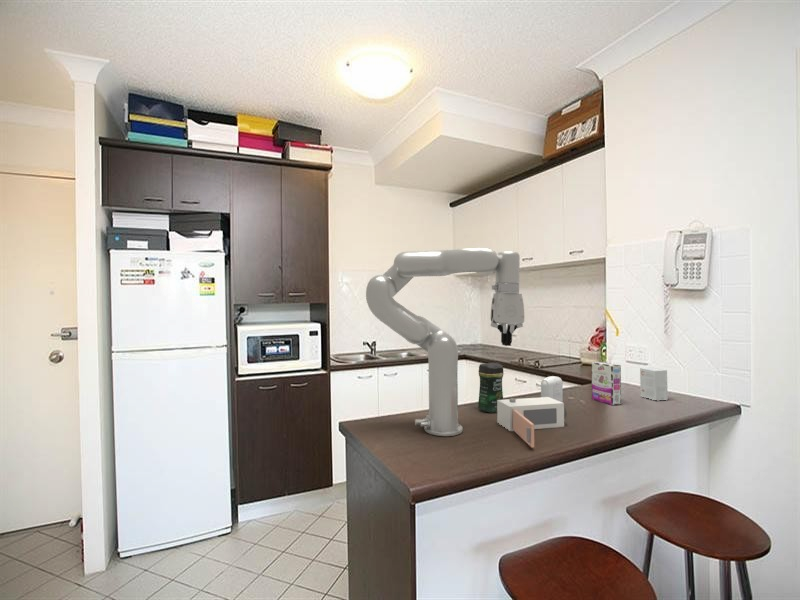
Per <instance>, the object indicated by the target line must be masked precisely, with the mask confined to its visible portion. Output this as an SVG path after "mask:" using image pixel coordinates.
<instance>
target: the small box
mask: <svg viewBox="0 0 800 600" xmlns="http://www.w3.org/2000/svg"><path fill="white" fill-rule="evenodd" d="M639 368H640V369H639V371H640V372H639V376H640V377H639V378H640V379H639V380H640V381H639V383H640V389H639V390H640V397H641V396H642V397H646V398H649V399H648V400H650V399H652V400H651V401H653V400H666V401H668V400H669V399H668V397H669V395H668V370H667V369H666V370H665V369H660V368H656V367H639ZM642 397H641V398H642ZM646 398H645V399H646Z"/></svg>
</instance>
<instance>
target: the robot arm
mask: <svg viewBox="0 0 800 600" xmlns="http://www.w3.org/2000/svg"><path fill="white" fill-rule="evenodd" d="M520 259H521V258H520V254H519V253H518V251H512V250H511V251H510V250H508V251H507V250H504V251H498V253H497V252H496V251H495V250H493V249H491V248H488V247H487V248H485V247H476V248H475V247H474V248H473V247H472V248H457V249H444V250H443V249H441V250H420V251H419V250H417V251H416V250H413V251H411V250H410V251H408V250H407V251H402V252H400V253H398V254H397V255H396V256H395V257H394V259H393V260H394V261H393V264H392V265H391V266H390V267H389V268H388V269H387V271H385V272H384V273H383V274H378V275H375V276H373V277H371V278H370V279H369V281H368V283H367V285H366V290H365V297H366V298H365V300H366V303H367V306H368V309H369V311H370V312H371V313H372V314H373V316H374V317H376V319H377V320H378V321H380V322H381V323H383V325H386V326H387V327H388V328H389V329H391V330H392V331H393V332H395V333H396V334H398V335H399V336H401V337H402V338H403V339H405V340H406V341H407V342H408V343H409V344H412V345H416V346H418V347H420V348H421V349H422V350H423V351H425V352H427V355H428V356H427V357H428V414H426V417H424V418H417V419H416V418H415V419H414V425H415V426H420V427H424V428H423V429H424V431H425V432H426V433H427V434H429V435H432V436H436V437H437V436H439V437H452V436H458V435H460V434H462V432H463V431H464V429H463V426H462V425H461V424H459V417H458V416H459V405H458V404H459V401H458V398H459V396H458V395H459V394H458V393H459V392H458V389H459V388H458V370H459V369H458V367H459V366H458V364H459V348H458V345H457V342H456V340H455V339H454V338H453V337H452V335H450V334H449V333H447V332H446V331H445V330H443V329H441V328H440V327H438V326H437V325H436V324H434V323H433V322H432V321H429V320H428V319H427V318H425V317H424V316H421V315H417V314H415V313H414V312H412V311H411V310H409V309H408V308H406V307H405V306H403V305H402V304H400V303H399V302H398V301H396V299H394V297H395V296H396V295H397V294H398V293H399V292H400V291H401V290H402V289H403V288H404V287H405V286H406V285H407V284H408V283H409V282H410V281H411V280H412V279H414V278H415V277H418V278H419V277H443V276H449V275H452V274H453V275H454V274H458V273H461V274H462V273H477V274H478V275H489V274H495V284H494V285H491V290H494V293H493V295H492V300H491V304H490V305H491V307H490V321H491V323H490V327H491V328H494V329H495V328H496V329H497V330H498V332H499V333H500V338H501V339H500V342H501V345H502V346H506V347H508V346H510V347H511V346H512V342H513V334H514V332H515V331H516V330H517V329H519V328H522V327H524V325H523V324H524V322H525V306H524V297H523V295H522V293H520V265H521V264H520V261H521V260H520Z"/></svg>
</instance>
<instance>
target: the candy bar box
mask: <svg viewBox="0 0 800 600" xmlns="http://www.w3.org/2000/svg"><path fill="white" fill-rule="evenodd" d="M621 367H622V365H620V364H615V363H611V362H610V363H608V362H602V361H592V362H591V400H593V399H594V400H593V401H596V400H597V401H596V402H599V401H600V402H599V403H603V404H606V403H607V404H606V405H610V406H618V405H620V404H621V405H622V379H621V378H622V376H621V375H622V373H621V372H622V371H621Z"/></svg>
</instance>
